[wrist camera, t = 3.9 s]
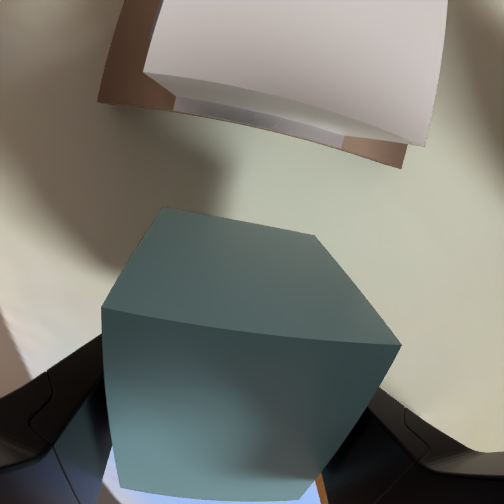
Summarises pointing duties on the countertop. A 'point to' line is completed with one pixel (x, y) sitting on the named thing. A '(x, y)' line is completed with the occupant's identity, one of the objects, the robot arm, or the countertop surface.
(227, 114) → the metal rail
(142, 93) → the rail board
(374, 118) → the mounted modules
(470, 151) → the countertop surface
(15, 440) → the robot arm
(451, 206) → the countertop surface
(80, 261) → the countertop surface
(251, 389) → the block
